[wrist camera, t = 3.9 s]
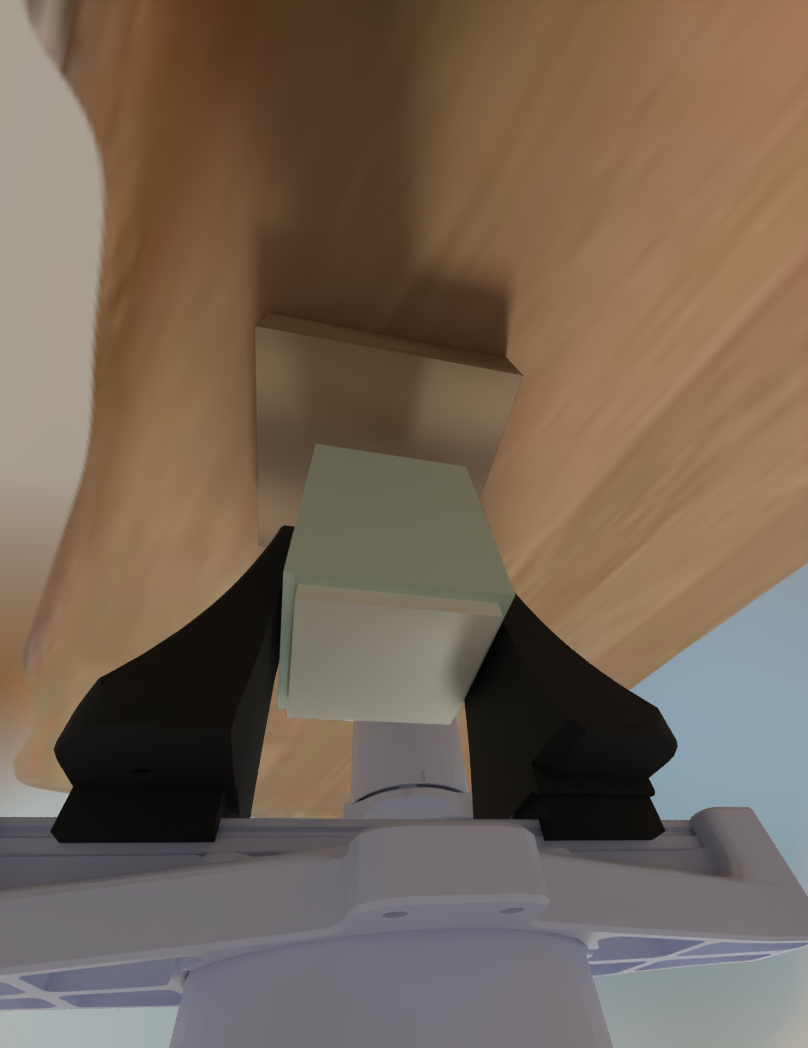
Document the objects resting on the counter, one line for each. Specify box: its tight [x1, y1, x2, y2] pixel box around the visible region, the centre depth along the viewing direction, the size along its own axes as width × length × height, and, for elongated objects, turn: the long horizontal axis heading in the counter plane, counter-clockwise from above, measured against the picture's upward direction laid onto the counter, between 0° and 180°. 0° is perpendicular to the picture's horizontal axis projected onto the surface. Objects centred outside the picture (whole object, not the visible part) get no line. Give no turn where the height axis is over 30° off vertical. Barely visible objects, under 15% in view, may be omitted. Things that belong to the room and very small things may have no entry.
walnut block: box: [255, 312, 523, 546], centre depth 19 cm, size 10×10×3 cm
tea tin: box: [277, 444, 515, 725], centre depth 13 cm, size 5×5×6 cm
